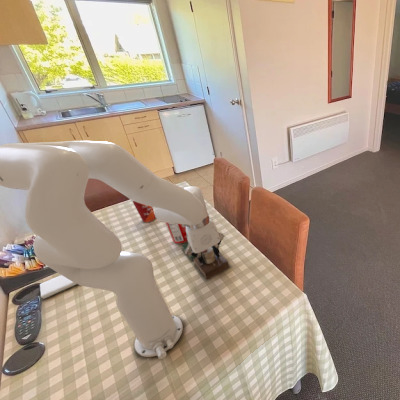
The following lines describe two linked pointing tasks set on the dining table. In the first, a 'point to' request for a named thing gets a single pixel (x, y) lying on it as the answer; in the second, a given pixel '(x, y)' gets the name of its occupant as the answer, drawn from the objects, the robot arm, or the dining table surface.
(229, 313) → the dining table surface
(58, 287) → the hard drive
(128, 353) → the dining table surface
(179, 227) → the soda can
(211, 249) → the dimmer knob
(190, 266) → the dining table surface
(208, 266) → the dimmer panel
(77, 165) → the robot arm
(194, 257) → the switch box
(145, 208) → the paper cup
